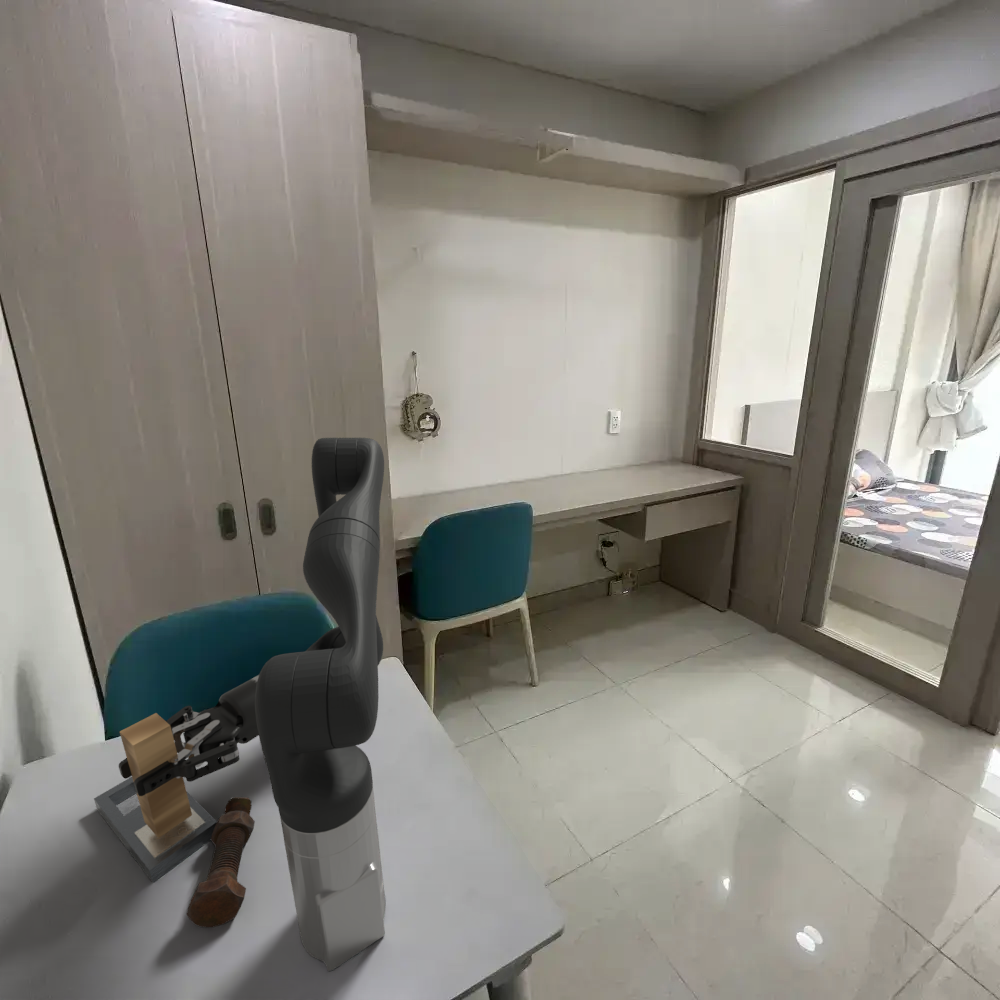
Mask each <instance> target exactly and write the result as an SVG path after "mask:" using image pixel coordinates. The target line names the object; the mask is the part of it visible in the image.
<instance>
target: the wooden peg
mask: <svg viewBox="0 0 1000 1000" xmlns="http://www.w3.org/2000/svg"><path fill="white" fill-rule="evenodd" d="M166 721H167V720H165V719H164V718H163V717H161V716H160V715H159V714H158V713H157V712H155V713H153V714H151V715H149V716H148V717H145V718H144V719H141V720H140V721H138V722H136V723H134V724H132V725H130V726H128V727H126V728H124V729H122V730H120V731H119V735H120V738H121V742H122V745H123V749H124V751H125V753H124V754H125V756H126V757H125V758H127V760H128V763H129V767H130V771H131V774H132V776H131V777H132V778H133V782H134V781H135V779H136V778H138V777H140V776H142V775H144V774H145V773H147V772H149V771H150V770H152V769H154V768H155V767H157V766H159V765H161V764H162V763H164V762H166V761H168V762H169V763H170V762H171V759H172V758H173V757H174V756H176V755H177V754H178V753H177V751H176V747H175V741H174V738H173V734H172V730H171V726H170V725H169V724H168V723H167V722H166ZM186 791H187V787H186V784H185V781H184V777H181V778H173V779H171V780H170V781H168V782H167V783H165V784H163V785H162V786H160V787H158V788H157V789H155V790H154V791H152V792H150V793H147V794H145V795H143V796H139V795H138V794H137V793H136V796H137V799H138V803H139V806H140V807H141V811H142V814H143V818H144V821H145V823H146V824H147V825H148V827H149V828H150V829H151V830H152V831H153V833H154V834H155V835H156V836H157V837H158V838H160V837H161V836H162V835H164V834H165V833H167V832H168V831H170V830H171V829H173V828H174V827H176V826H177V825H178V824H180V823H181V822H183V821H184V820H186V819H187V818H189V817H190V816H192V812H191V808H190V804H189V800H188V796H187V792H188V791H187V792H186Z"/></svg>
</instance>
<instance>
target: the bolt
mask: <svg viewBox="0 0 1000 1000" xmlns="http://www.w3.org/2000/svg"><path fill="white" fill-rule="evenodd" d="M251 810H252V800H251V799H250V798H249V797H242V796H241V797H239V796H233V797H231V798H230V799H229V800H227V803H226V805H225V809H224V812H223V814H221V815H220V817H219V818H218V820H217V824H216V826H215V828H214V831H213V833H212V837H211V840H210V841H211V842H212V843H213V845H214V850H213V853H212V854H213V855H212V858H211V863H210V867H209V870H208V873H207V878H206V880H205V881H202V882H199V883H198V885H197V887H196V889H195V891H194V894H193V896H192V897H191V899H190V901H189V904H188V907H187V911H186V915H187V918H188V919H189V920H190V921H191V922H192V923H193V924H194V925H195V926H198V927H201V928H215V927H218V926H223V925H225V924H227V923H229V922H230V921H232V920H234V919H235V918H236V917H237V915H238V913H239V912H240V909H241V908H242V904H243V902H244V900H245V897H246V891H247V888H246V887H245V886H244V885H242V884H241V883H240V882H239V881H238V875H239V868H240V866H241V859H242V855H243V849H244V846H245V845H246V844H248V842H249V840H250V837H251V836H252V833H253V831H254V827H255V823H256V822H255V819H254V818H253V817H252V816H251V815H250V814H251Z"/></svg>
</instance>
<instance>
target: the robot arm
mask: <svg viewBox="0 0 1000 1000" xmlns="http://www.w3.org/2000/svg"><path fill="white" fill-rule="evenodd" d="M311 453H312V454H311V477H312V484H313V490H314V496H315V502H316V508H317V515H318V517H317V519H316V520H315V521H314V523H313V524H312V525H311V528H310V530H309V534H308V536H307V541H306V547H305V552H304V557H303V563H302V572H303V577H304V579H305V582H306V584H307V586H308V588H309V589H310V590H311V592H312V594H313V595H314V596H315V597H316V599H317V600H318V602H320V604H321V605H322V606H323V608H325V609H326V611H327V612H328V613H329V614H330V615H331V617H332V618H333V619H334V621H335V622H336V624H337V626H336V627H333V628H331V629H329V630H328V631H326V632H325V633H324V634H323V635H322V636H321V637H319V638H318V639H317V640H316V641H315V642H314V643H312V644H311V645H310V646H309V647H308V648H307V649H306V650H305V651H298V652H288V653H282V654H278V655H274V656H272V657H270V659H268V660H267V661H266V662H265V663H264V665H263V666H262V668H261V670H260V671H259V674H258V675H256V676H254V677H253V678H250V679H249V680H247V681H245V682H243V683H241V684H240V685H239V684H238V686H236V687H234V688H232V689H230V690H228V691H226V692H224V693H223V694H221V696H220V697H219V699H218V702H217V704H216V705H215V706H214V707H211V708H208V709H205V710H202V711H200V712H197V711H194V710H193V707H192V705H186V706H184V707H182V708H181V709H179V711H177V712H176V713H175V714H173V715H172V716H171V717H169V718H168V719H167V720H165V721H166V722H167V723H168V724H169V725H170V726H171V730H172V734H173V738H174V742H175V747H176V751H177V755H176V756H174V757H173V758H172V759H171V762H170V763H169V762H168V761H166V762H164V763H162V764H161V765H159V766H157V767H155V768H154V769H152V770H150V771H149V772H147V773H145V774H144V775H142V776H140V777H138V778H136V779H135V781H134V786H135V790H136V795H137V794H138V795H139V796H143V795H145V794H147V793H150V792H152V791H154V790H155V789H157V788H158V787H160V786H162V785H163V784H165V783H167V782H168V781H170V780H171V779H173V778H181V777H183V778H185V781H186V782H188V783H190V782H194V781H196V780H198V779H201V778H203V777H206V776H207V775H210V774H212V773H215V772H217V771H219V770H222V769H224V768H227V767H229V766H231V765H234V764H236V763H238V762H239V761H240V751H239V748H238V744H242V745H244V744H247V743H249V742H251V741H253V740H254V739H256V738H257V737H259V741H260V746H261V751H262V753H263V758H264V760H265V765H266V769H267V773H268V777H269V781H270V786H271V787H270V788H271V790H272V791H271V792H272V797H273V799H274V803H275V804H276V806H277V808H278V814H279V817H280V824H281V830H282V836H283V841H284V842H283V843H284V847H285V853H286V859H287V865H288V871H289V877H290V882H291V888H292V889H291V890H292V895H293V901H294V906H295V912H296V916H297V917H296V918H297V923H298V929H299V934H300V940H301V943H302V945H303V947H304V949H305V950H306V952H307V953H308V954H309V955H310V956H312V957H313V958H314V959H316V960H319V961H321V962H323V963H324V964H325V965H326V969H327V971H328V972H331V971H333V970H334V969H337V967H340V966H341V965H342V964H344V963H345V962H347V961H349V960H350V959H351V958H352V957H354V956H356V955H358V954H359V953H360V952H362V951H363V950H364V949H367V947H369V946H371V945H372V944H374V943H375V942H377V941H378V940H380V939H381V938H383V937H384V936H385V934H386V930H385V921H384V919H385V915H386V895H385V884H384V876H383V868H382V867H383V866H382V859H381V849H380V839H379V831H378V830H379V829H378V823H377V813H376V802H375V800H376V799H375V793H374V784H373V783H374V782H373V772H372V766H371V761H370V760H369V757H368V756H367V754H366V752H365V751H363V749H362V748H360V747H359V745H361V744H364V743H366V742H368V741H369V739H370V738H371V737H372V735H373V734H374V731H375V728H376V723H377V720H378V712H379V666H380V663H381V661H382V658H383V654H384V639H383V635H382V632H381V626H380V624H379V620H378V617H377V600H378V599H377V597H378V584H379V572H380V571H379V570H380V553H381V551H380V550H381V535H380V534H381V532H380V527H381V526H380V508H381V500H382V499H381V498H382V492H383V484H384V475H385V458H384V457H385V456H384V451H383V449H382V447H381V445H380V444H379V442H378V441H377V440H375V439H373V438H369V437H321V438H317V440H316V441H315V443H314V445H313V447H312V451H311ZM340 495H343V496H342V497H340V498H339V499H338V500H337V496H340ZM182 734H183V738H184V741H182V737H181V736H182ZM204 763H207V764H205V765H204V766H202V765H203V764H204ZM118 770H119V773H120V775H121V777H122V778H124V779H125V780H127V779H129V778H130V777H132V774H131V771H130V767H129V763H128V760H127V757H125V758H124V759H123V760H121V761H120V762H119V764H118Z"/></svg>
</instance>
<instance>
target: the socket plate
mask: <svg viewBox="0 0 1000 1000" xmlns="http://www.w3.org/2000/svg"><path fill="white" fill-rule="evenodd" d="M186 792H187V796H188V800H189V804H190V808H191V812H192V816H190V817H189V818H187V819H186V820H184V821H183V822H181V823H180V824H178V825H177V826H176V827H174V828H173V829H171V830H170V831H168V832H167V833H165V834H164V835H162V836H161V837H160V838H158V837H157V836H156V835H155V834H154V833H153V831H152V830H151V829H150V828H149V827H148V825H147V824H146V823H145V821H144V818H143V814H142V811H141V807H140V805H138V807H135V808H134V809H132V810H131V811H129V812H127V813H126V814H123V812H122V811H121V810H120V809H119V808H118V805H119V804H121V803H122V802H124V801H125V800H128V799H129V798H131V797H132V796H134V795H137V793H136V790H135V786H134V782H133V778H132V776H131V777H129V778H126V779H125V780H124V781H122V782H120V783H118V784H117V785H115V786H113V787H111V788H110V789H108V790H106V791H104V792H103V793H101V794H99V795H97V796H96V797H94V798H93V801H94V804H95V808H96V810H97V812H98V813H99V814H100V816H101V817H102V818H103V820H104V821H105V822H106V823H107V825H108V826H109V827H110V829H111V830H112V831H113V833H114V834H115V835H116V837H117V838H118V839H119V840H120V842H121V843H122V845H123V846H124V847H125V848H126V850H127V851H128V852H129V854H130V855H131V856H132V858H133V859H134V860H135V862H136V863H137V864H138V865H139V867H140V868H141V869H142V871H143V872H144V873H145V875H146V876H147V877H148V878H149V879H150V882H151V883H155V882H156V881H158V879H160V878H162V877H163V876H164V875H166V874H167V873H168V872H170V871H171V870H172V869H174V868H175V867H177V866H178V865H179V864H181V863H182V862H183V861H184V860H186V859H187V858H188V857H190V856H191V855H193V854H194V853H195V852H196V851H198V850H199V849H201V848H202V847H203V846H205V845H206V844H207V843H210V841H212V840H211V837H212V833H213V831H214V828H215V826H216V824H217V822H218V820H216V819H215V818H214V817H213V816H212V815H211V814H210V813H209V812H208V811H207V810H206V809H205V808H204V807H203V806H202V805H201V804H200V803H199V802H198V801H197V800H196V799H195V798H194V797H193V796H192V795H191V794H190V793H189V792H188V791H187V790H186Z"/></svg>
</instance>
